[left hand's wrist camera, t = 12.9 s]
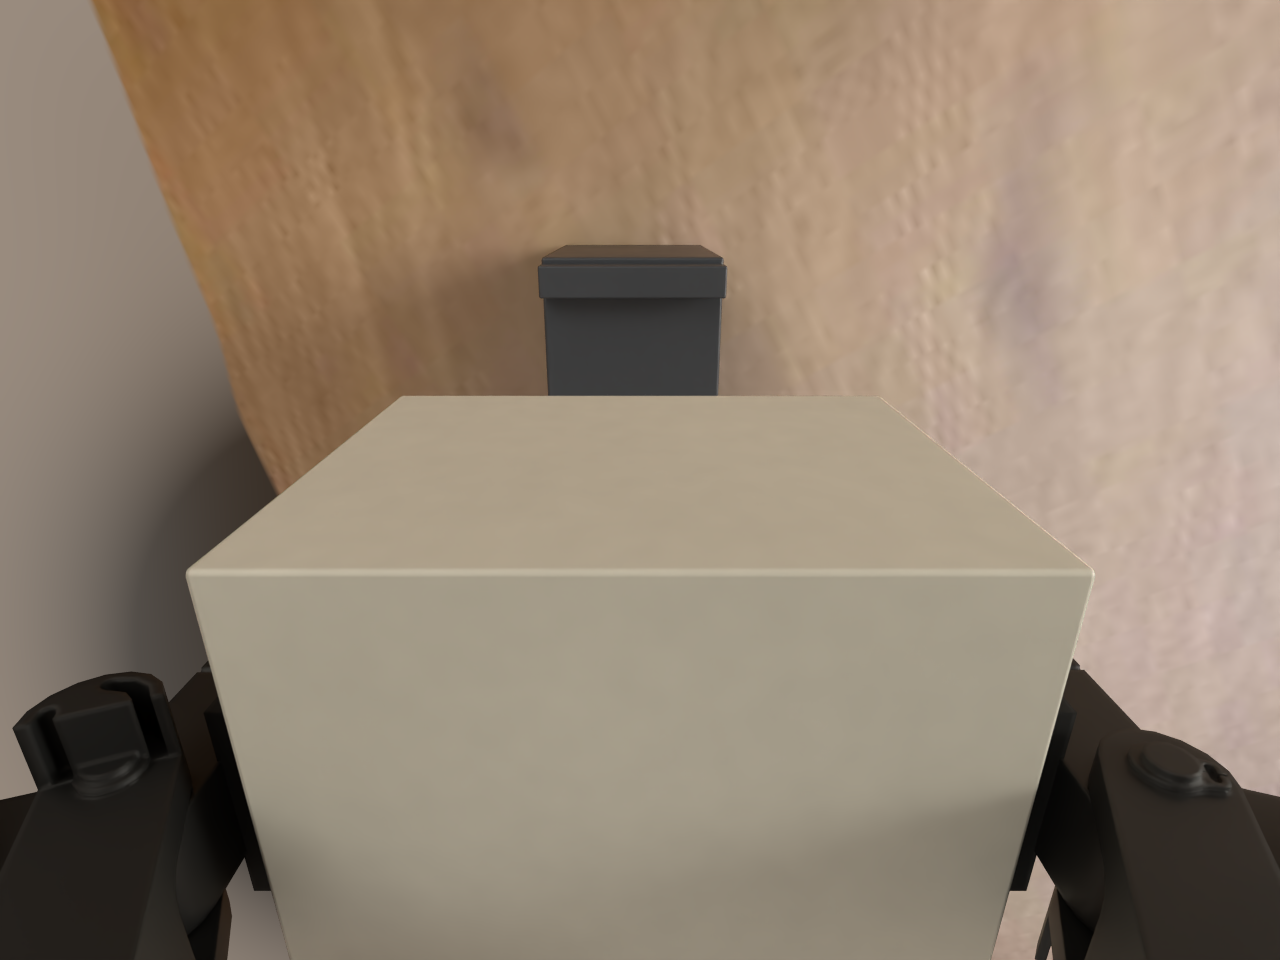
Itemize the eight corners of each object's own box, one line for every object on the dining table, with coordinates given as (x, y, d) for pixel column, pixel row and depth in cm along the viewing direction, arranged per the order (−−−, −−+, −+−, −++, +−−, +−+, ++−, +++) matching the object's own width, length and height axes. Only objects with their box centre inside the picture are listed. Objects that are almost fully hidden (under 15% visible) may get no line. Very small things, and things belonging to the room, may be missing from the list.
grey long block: (564, 245, 30) (537, 259, 22) (702, 245, 30) (727, 259, 22) (584, 781, 41) (571, 927, 33) (685, 780, 41) (698, 926, 33)
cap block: (400, 394, 12) (181, 570, 6) (879, 394, 12) (1099, 570, 6) (443, 730, 14) (316, 1069, 9) (836, 730, 14) (963, 1069, 9)
